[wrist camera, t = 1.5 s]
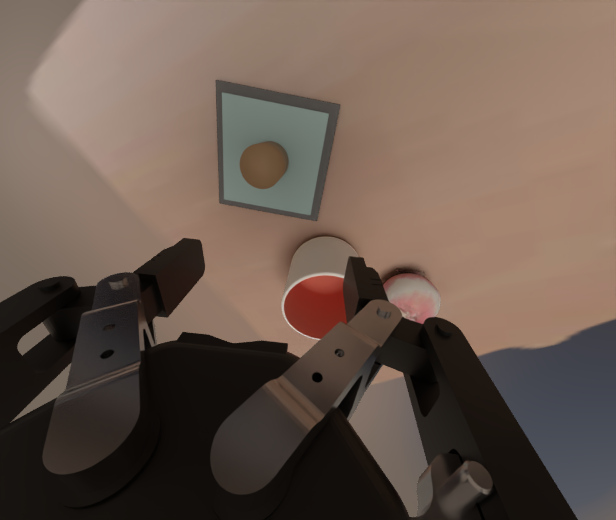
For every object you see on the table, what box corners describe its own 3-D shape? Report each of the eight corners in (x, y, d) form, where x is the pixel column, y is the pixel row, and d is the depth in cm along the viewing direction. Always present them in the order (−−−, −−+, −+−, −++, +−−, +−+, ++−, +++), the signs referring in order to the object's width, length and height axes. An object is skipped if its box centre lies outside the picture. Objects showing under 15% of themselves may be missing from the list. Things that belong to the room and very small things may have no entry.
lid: (225, 93, 24) (198, 84, 19) (328, 114, 24) (329, 110, 19) (226, 197, 29) (206, 212, 24) (310, 212, 30) (307, 230, 25)
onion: (368, 287, 37) (369, 306, 30) (407, 255, 34) (417, 267, 28) (404, 322, 37) (412, 349, 30) (445, 293, 34) (465, 314, 27)
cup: (369, 277, 35) (383, 327, 26) (310, 298, 38) (306, 349, 29) (343, 221, 31) (350, 258, 22) (279, 249, 33) (264, 292, 25)
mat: (217, 80, 24) (215, 79, 23) (340, 105, 24) (340, 104, 24) (220, 202, 30) (219, 203, 30) (317, 220, 31) (316, 221, 30)
